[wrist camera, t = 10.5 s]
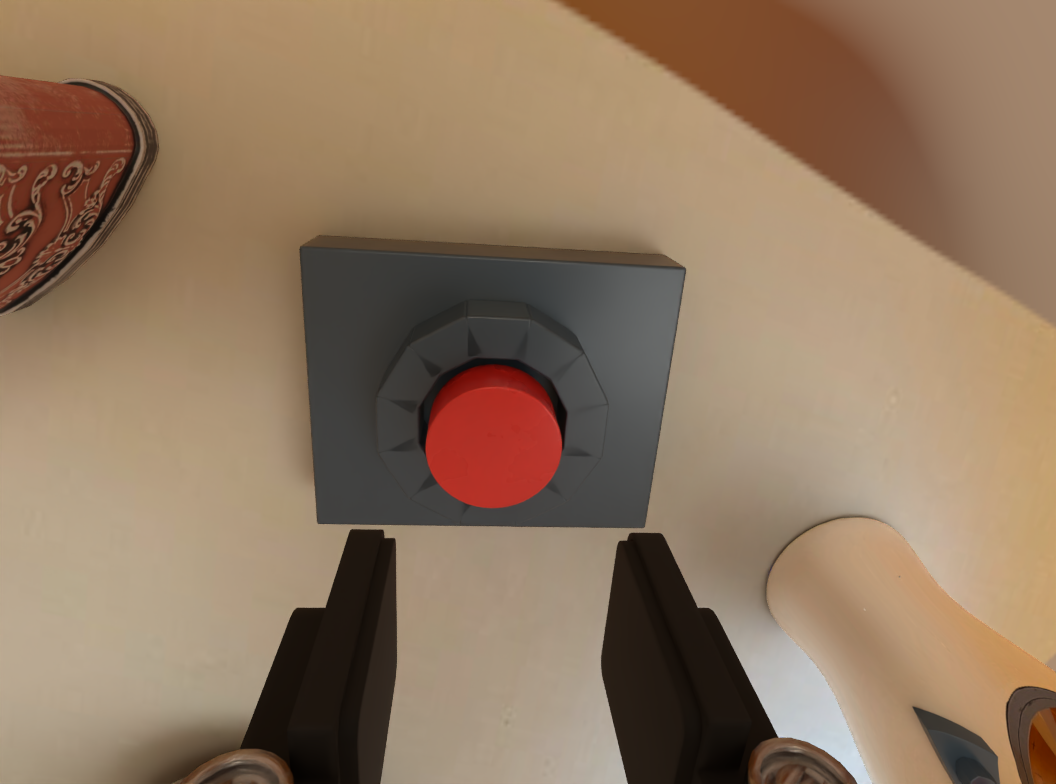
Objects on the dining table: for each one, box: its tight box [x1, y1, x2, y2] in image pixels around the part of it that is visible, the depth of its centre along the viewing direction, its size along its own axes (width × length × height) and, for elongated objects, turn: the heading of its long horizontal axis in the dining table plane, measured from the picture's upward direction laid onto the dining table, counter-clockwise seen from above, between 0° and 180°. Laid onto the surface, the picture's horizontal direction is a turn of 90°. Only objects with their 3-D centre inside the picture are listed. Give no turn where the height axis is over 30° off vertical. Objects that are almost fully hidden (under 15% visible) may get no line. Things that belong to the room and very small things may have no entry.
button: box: [425, 364, 562, 508], centre depth 17 cm, size 4×4×2 cm
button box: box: [299, 235, 686, 528], centre depth 20 cm, size 11×9×4 cm
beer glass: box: [766, 517, 1056, 784], centre depth 19 cm, size 7×7×15 cm
